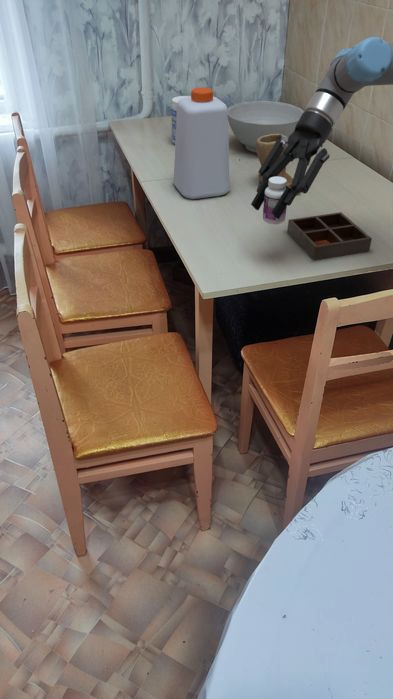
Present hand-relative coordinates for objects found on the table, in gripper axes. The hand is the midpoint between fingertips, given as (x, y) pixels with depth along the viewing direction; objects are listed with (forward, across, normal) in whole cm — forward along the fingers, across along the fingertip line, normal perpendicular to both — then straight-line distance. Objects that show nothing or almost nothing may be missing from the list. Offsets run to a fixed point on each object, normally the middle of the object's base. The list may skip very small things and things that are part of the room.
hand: (264, 211), depth 122 cm
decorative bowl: (-35, +52, -54) cm, 83 cm away
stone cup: (-18, +27, -37) cm, 49 cm away
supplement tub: (-23, +75, -42) cm, 89 cm away
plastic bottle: (-6, +42, -25) cm, 49 cm away
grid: (-5, -4, -25) cm, 26 cm away
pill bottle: (0, 0, -5) cm, 5 cm away
